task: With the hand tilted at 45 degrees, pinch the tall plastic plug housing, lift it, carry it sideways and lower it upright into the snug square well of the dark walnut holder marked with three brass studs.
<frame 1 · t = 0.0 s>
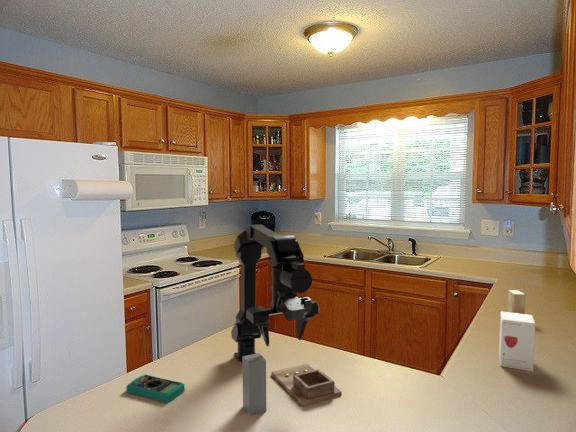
hand: (283, 342, 106), 15 cm above the countertop, tool pointing down, fingers open, 9 cm apart
digital multimeter: (155, 393, 110), on the countertop
supplement box: (515, 364, 126), on the countertop
walnut holder: (304, 384, 113), on the countertop
plug housing: (254, 408, 101), on the countertop
skincare box: (515, 321, 165), on the countertop
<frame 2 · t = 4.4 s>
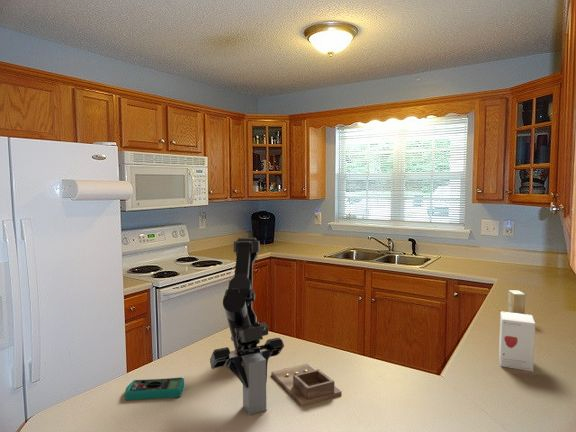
hand: (256, 385, 100), 7 cm above the countertop, tool tilted 45°, fingers closed on plug housing, 4 cm apart
plug housing: (254, 408, 101), on the countertop, touching gripper
when the fingers open (9 cm above the countertop, at t = 11.0 s): plug housing stays where it is, resting on walnut holder.
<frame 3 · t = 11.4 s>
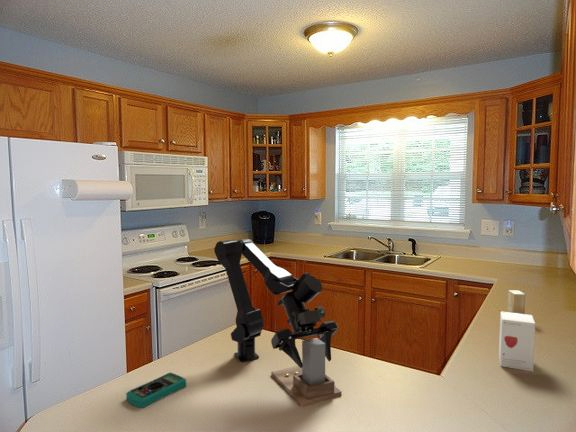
hand: (316, 363, 107), 9 cm above the countertop, tool tilted 45°, fingers open, 8 cm apart
plug housing: (313, 389, 109), point 1 cm above the countertop, touching walnut holder
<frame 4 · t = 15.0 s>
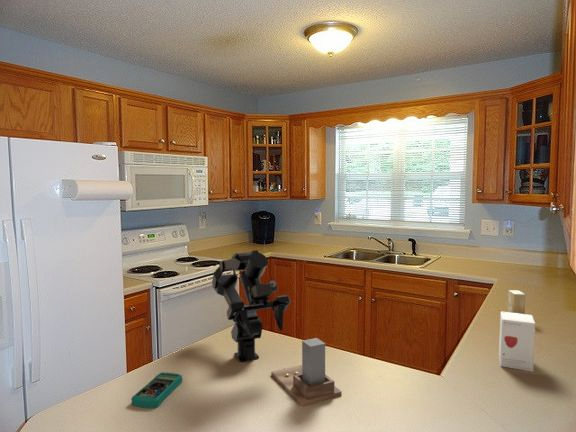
hand: (267, 333, 116), 14 cm above the countertop, tool tilted 45°, fingers open, 9 cm apart
at the end: plug housing 0.0 cm from the target spot on the walnut holder, point 1.0 cm above the walnut holder's base; plug housing tilted 0°; the gripper is holding nothing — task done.
